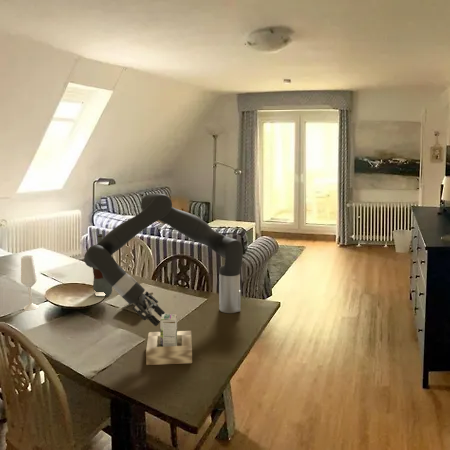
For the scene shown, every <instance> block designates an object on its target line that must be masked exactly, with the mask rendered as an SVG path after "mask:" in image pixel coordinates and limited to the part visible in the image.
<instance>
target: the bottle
mask: <svg viewBox="0 0 450 450" xmlns="http://www.w3.org/2000/svg"><path fill="white" fill-rule="evenodd" d="M96 235H97V244H98V243H99V242H100V241H101V240H102V239H103V238H104V236H103V233H102V234H101V233H100V234H99V233H98V234H96ZM92 273H93V281H92V282H93V283H92V284H93V285H92V288H93V291H94V290H95V291H96V292H104V293H105V294H106V295H105V297H109V296H111V295H112V292H113V286H111V285H110V284H109V283H108V282H107V281H106V280H105V279H104V278H103V275H102V273H101V271H100V270H99V269H98V268H97V267H96V268H92Z"/></svg>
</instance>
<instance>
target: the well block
mask: <svg viewBox="0 0 450 450" xmlns="http://www.w3.org/2000/svg"><path fill="white" fill-rule="evenodd" d="M147 335H148V336H147V342H146V343H147V344H146V349H145V350H146V351H145V357H146V358H145V362H146V366H150V365H151V366H152V365H153V366H154V365H175V364H176V365H177V364H181V365H182V364H192V363H193V346H192V341H193V340H192V330H177V346H167V347H160V331H150V332H148V334H147Z"/></svg>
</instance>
